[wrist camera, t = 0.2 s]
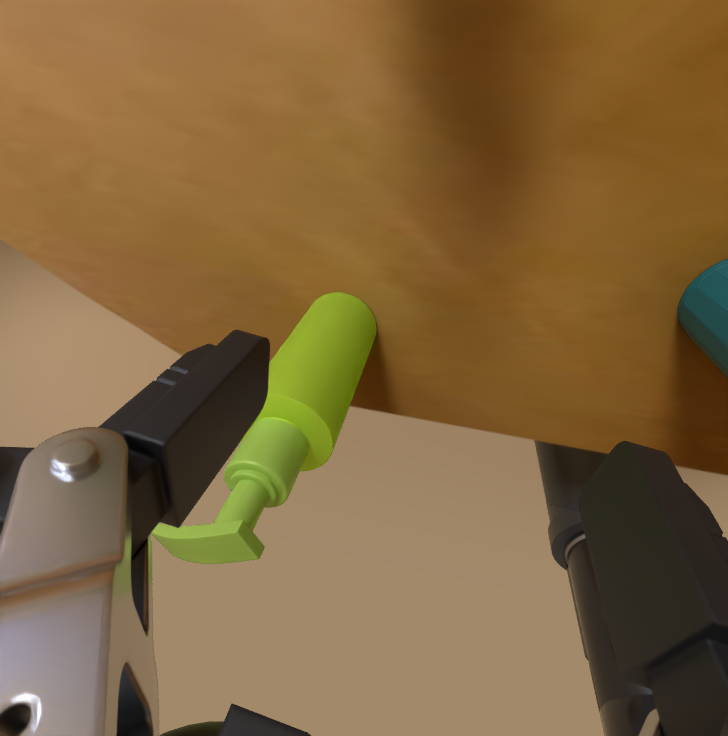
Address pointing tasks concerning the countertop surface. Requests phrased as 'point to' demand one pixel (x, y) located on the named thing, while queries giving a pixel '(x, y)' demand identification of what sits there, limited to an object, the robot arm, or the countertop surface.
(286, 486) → the soap dispenser
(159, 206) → the countertop surface
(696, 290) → the jar
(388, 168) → the countertop surface
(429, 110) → the countertop surface
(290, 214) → the countertop surface
